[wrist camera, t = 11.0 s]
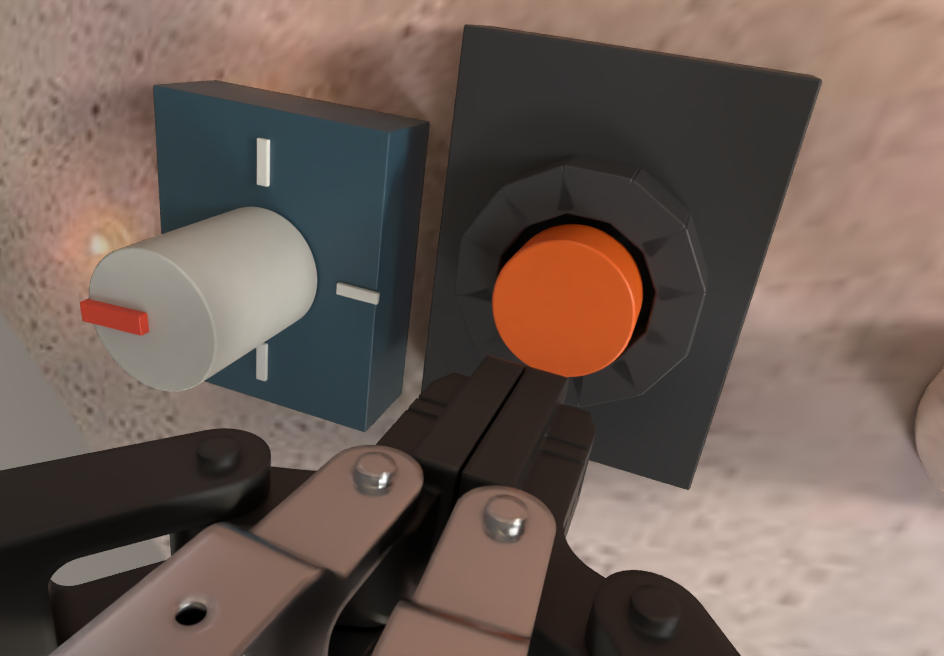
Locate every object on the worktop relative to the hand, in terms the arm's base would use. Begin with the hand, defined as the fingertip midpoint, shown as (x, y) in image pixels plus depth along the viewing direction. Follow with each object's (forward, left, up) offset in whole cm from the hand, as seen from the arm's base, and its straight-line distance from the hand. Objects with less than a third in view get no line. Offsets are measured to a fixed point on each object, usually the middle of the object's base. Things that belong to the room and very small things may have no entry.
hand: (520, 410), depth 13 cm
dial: (-2, +10, -7) cm, 13 cm away
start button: (0, 0, -7) cm, 7 cm away
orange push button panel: (0, 0, -10) cm, 10 cm away
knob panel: (-2, +10, -10) cm, 15 cm away
